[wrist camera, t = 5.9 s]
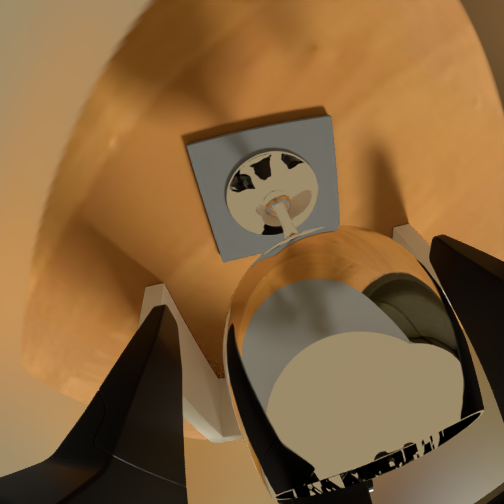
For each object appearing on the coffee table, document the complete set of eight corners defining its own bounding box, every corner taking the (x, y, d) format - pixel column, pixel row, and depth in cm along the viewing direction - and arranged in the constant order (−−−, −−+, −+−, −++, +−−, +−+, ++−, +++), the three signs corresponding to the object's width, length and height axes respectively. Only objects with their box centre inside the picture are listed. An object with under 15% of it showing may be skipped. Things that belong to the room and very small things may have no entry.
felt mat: (337, 230, 16) (340, 234, 16) (222, 258, 16) (223, 262, 16) (328, 114, 12) (331, 115, 12) (187, 143, 12) (186, 146, 12)
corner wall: (386, 341, 24) (410, 391, 19) (209, 387, 24) (212, 443, 20) (409, 223, 16) (460, 280, 12) (145, 287, 17) (132, 365, 12)
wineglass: (185, 194, 13) (173, 501, 4) (284, 110, 11) (530, 349, 2) (263, 263, 16) (324, 495, 7) (350, 199, 14) (496, 410, 5)
